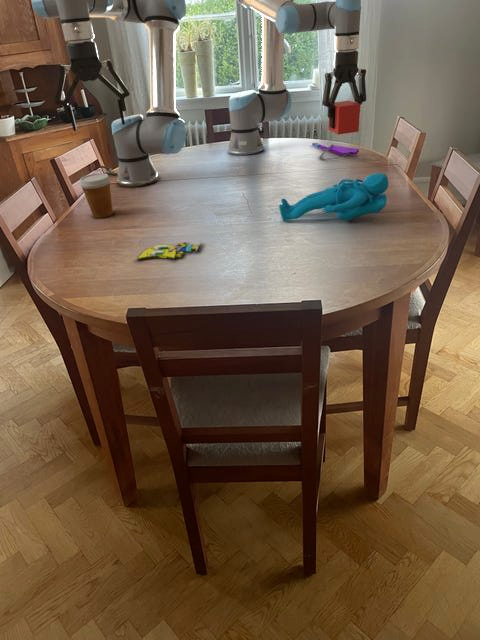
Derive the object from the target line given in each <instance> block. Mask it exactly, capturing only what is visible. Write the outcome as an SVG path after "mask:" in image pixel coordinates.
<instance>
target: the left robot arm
mask: <svg viewBox="0 0 480 640" xmlns="http://www.w3.org/2000/svg"><path fill="white" fill-rule="evenodd" d="M30 2H31V6H32V9H33V11H34V12H35V14H36V15H37V16H38V17H40V18H41V19H50V20H52V19H58V18H59V19H60V25H61V29H62V33H63V37H64V41H65V42H67V44H66V50H67V54H68V58H69V65H65V64H60V65H59V69H58V70H59V79H58V85H57V89H56V94H55V100H54V103H55V104H56V105H59V106H62V108H63V110H64V115H65V117H66V119H70V121H71V125H72V130H73V132H76V131H77V130H78V128H77V123H76V119H75V115H74V112H73V108H72V104H71V103H70V104H69V102H70V101H71V100H70V99H71V98H72V96H73V95H74V92H75V90H76V88H77V86H78V85H79V82H80V81H81V82H83V83H85V82H88V81H91V82H93V81H94V82H95V81H96V80H99V81H100V82H101V83H102V84H104V85H105V86H106V87H107V88H108V89H109V90H110V91H111V92H113V94H114V95H116V97H118V98H116V100H117V106H118V111H119V115H120V118H118V119H115V120H113V121H112V122H111V132H112V133H111V135H112V138H113V142H114V146H115V151H116V156H117V160H118V167H117V168H118V170H117V172H111V171H112V168H111V167H108V166H104V165H96V166H95V167H94V169H93V170H94V171H97V170H98V169H105V170H107V171H106V173H105V174H107V175H108V176H117V179H116V180H117V183H118V186H120V187H123V188H124V187H125V188H136V187H137V188H138V187H145V186H147V185H148V186H149V185H151V184H154V183H156V182H157V181H158V180H159V176H158V172H157V169H156V168H155V166H154V163H153V161H152V159H151V156H150V155H173V154H174V155H175V154H178V153H180V152H181V151H182V149H183V148H184V146H185V143H186V139H187V127H186V124H185V121H184V120H183V119H181V118H180V116H181V115H180V113H179V112H178V111H177V109H176V33H177V32H178V31H179V30H180V21H183V20H184V19H185V18H186V14H187V6H186V0H30ZM91 18H109V19H110V20H112V21H115V22H126V23H134V24H144V27H145V29H146V30H147V31H148V41H149V42H148V43H149V48H148V49H149V94H150V95H149V97H150V100H149V102H150V108H149V109H148V110H147V111H146V113H145V115H146V117H145V119H144V116H143V114H140V113H138V114H133V115H128V116H124V112H126V111H127V106H126V101H125V99H126V98H127V97H129V96H130V91H129V89H128V88H127V86H126V85H125V83H124V82H123V80H122V79H121V77H120V76H119V74H118V73H117V72H116V70H115V69H114V66H113V63H112V61H111V60H110V59H107V60H103V61H101V60H100V58H99V57H100V56H99V54H98V53H99V52H98V48H97V43H96V42H95V41H94V39H95V34H94V29H93V24H92V20H91ZM103 67H104V68H105V70H109V73H110V74H111V76H112V77H113V78H114V80H115V81H116V83H117V85H118V86H119V87H120V89H121V90H122V92H121V91H120V90H119V89H118V88H117V87H116V86H115V85H113V83H111V82H110V81H109V80H108V79H107V78H106V77H105V76H104V75H103V74H102V73H101V71H102V68H103ZM69 71H71V73H72V74H74V78H73V80H72V83H71V85H70V87H69V88H68V91H67V93H66V94H65V97H64V99H62V95H63V90H64V85H65V81H66V75H68V74H69Z"/></svg>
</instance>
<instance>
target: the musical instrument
mask: <svg viewBox="0 0 480 640" xmlns="http://www.w3.org/2000/svg"><path fill="white" fill-rule="evenodd" d="M311 145H312V147H316V148H319V149H323V150H324V151H323V152H322V153H321V154H320V155H319V159H320V160H338V159H341V158H344V157H346V156H349V155H351V156H353V155H357V154H358V153H359V152H360V149H359V148H355V147H349V146H341V145H337V144H336V145H335V144H330V145H329V146H326V145H322V144H320V143H318V142H313V143H311ZM327 151H328V152H331V153H335V154H338V155H340V156H339V157H332V158H331V157H330V158H328V157H326V158H325V157H324V158H323V156H324V155H325V153H327Z"/></svg>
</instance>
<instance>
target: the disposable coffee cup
mask: <svg viewBox="0 0 480 640" xmlns="http://www.w3.org/2000/svg"><path fill="white" fill-rule="evenodd" d="M109 176H110V175H108V174H106V173H103V172H102V173H101V172H99V173H92V174H91V173H90V174H87V175H83V176H82V177H81V178H80V179H79V186H80V187H81V188H82V191H83V194H84V196H85V199H86V201H87V205H88V206H89V209H90V211H91V214H92V217H94V218H96V219H98V218H99V219H100V218H101V219H102V218H107V217H109V216H111V215H113V213H114V211H113V201H112V200H113V199H112V193H111V192H112V191H111V190H112V189H111V178H110V177H109Z"/></svg>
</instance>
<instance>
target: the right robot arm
mask: <svg viewBox="0 0 480 640" xmlns="http://www.w3.org/2000/svg"><path fill="white" fill-rule="evenodd" d="M236 1H237V3H238V4H239V6H240V5H241V6H242V7H243V8H245V9H246V10H249V11H250V10H254V11H255V12H258V13H259V14H260V15H261V17H262V18H261V19H262V20H261V21H262V22H261V23H262V25H261V26H262V28H261V29H262V33H261V34H262V35H261V38H262V41H261V42H262V43H261V46H262V49H261V50H262V52H261V56H262V58H261V62H262V63H261V67H262V68H261V69H262V70H261V71H262V72H261V74H262V75H261V83H260V85H259V86H258V92H256V90H254V89H249V90H243V91H239V92H236V93H234V94H232V95H231V96H230V97H229V99H228V112H229V121H230V133H231V134H230V137H229V144H228V153H229V154H231V155H234V156H249V155H254V154H258V153H259V154H260V153H261V152H263V151H264V143H263V140H262V138H261V135H260V133H262V132H263V129H262V127H261V125H260V124H263V123H268V122H273V121H275V122H276V121H279V120H283V119H285V118H286V117H287V116H288V115H289V114H290V112H291V109H292V97H291V92H290V91H289V90H288V89H287V85H286V84H285V82H284V55H285V54H284V53H285V52H284V50H285V35H286V34H287V35H293V34H298V33H306V32H316V31H324V30H325V31H326V30H334V51H335V52H334V55H333V56H334V57H333V58H334V59H333V66H334V67H333V70H332V71H331V72H325V73H324V80H325V83H324V89H323V94H322V95H323V98H322V102H321V103H322V104H321V105H322V106H323V107H326V108H327V118H328V119H329V118H330V128H335V108H334V107H333V106H334V103H335V102H336V100H337V98H338V95H339V92H340V89H341V87H342V86H343V84H346V83H348V85H349V88H350V91H351V94H352V98H353V100H354V101H353V102H355V103H358V104H360V106H361V105H362V104H363V103H365V102H366V101H367V89H366V88H367V87H366V75H367V69H366V68H359V67H358V66H359V65H358V63H359V51H358V49H359V46H360V45H359V44H360V31H361V30H360V29H361V14H362V13H361V12H362V0H335V1H321V2H312V3H301V4H300V3H296V2H294V0H236ZM356 76H357V77H358V78H357V79H358V86H357V80H356ZM333 78H335V80H334V82H333ZM332 82H333V83H332ZM332 84H333V88H332ZM331 90H332V91H331Z"/></svg>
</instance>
